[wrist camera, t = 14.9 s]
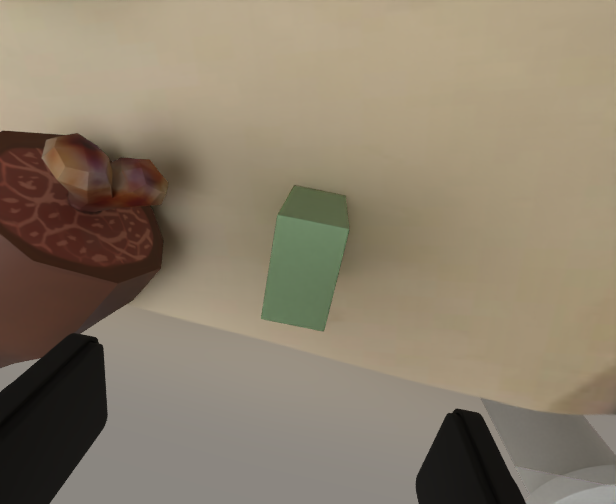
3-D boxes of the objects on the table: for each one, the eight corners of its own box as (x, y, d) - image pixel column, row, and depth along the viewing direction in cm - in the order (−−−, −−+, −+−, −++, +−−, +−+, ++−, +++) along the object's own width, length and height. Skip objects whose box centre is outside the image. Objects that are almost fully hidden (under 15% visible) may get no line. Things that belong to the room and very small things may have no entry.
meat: (44, 392, 26) (-181, 451, 17) (16, 261, 29) (-188, 250, 20) (241, 273, 20) (55, 262, 11) (179, 121, 23) (-7, 12, 14)
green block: (327, 275, 25) (324, 332, 18) (280, 265, 25) (260, 319, 18) (345, 195, 23) (349, 228, 16) (294, 184, 23) (277, 214, 16)
